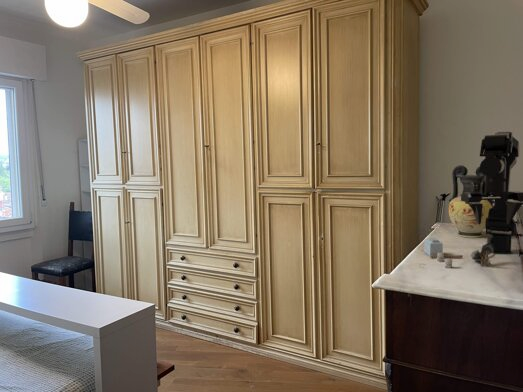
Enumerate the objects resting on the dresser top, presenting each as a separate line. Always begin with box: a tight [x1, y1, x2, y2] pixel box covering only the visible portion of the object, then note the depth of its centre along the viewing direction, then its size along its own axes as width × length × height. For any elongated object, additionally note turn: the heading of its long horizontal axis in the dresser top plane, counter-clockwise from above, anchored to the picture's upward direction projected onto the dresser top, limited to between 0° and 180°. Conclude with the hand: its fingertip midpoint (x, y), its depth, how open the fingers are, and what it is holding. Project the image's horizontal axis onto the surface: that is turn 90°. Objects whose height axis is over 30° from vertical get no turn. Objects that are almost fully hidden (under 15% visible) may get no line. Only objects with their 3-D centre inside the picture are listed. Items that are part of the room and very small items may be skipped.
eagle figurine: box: [470, 242, 496, 267], centre depth 129 cm, size 8×7×9 cm
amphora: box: [448, 164, 495, 239], centre depth 172 cm, size 18×17×30 cm
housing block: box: [424, 237, 444, 257], centre depth 142 cm, size 4×7×5 cm, turn 173°
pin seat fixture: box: [430, 252, 463, 269], centre depth 134 cm, size 10×19×2 cm, turn 173°
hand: (493, 224), depth 130 cm, fingers open, 9 cm apart
